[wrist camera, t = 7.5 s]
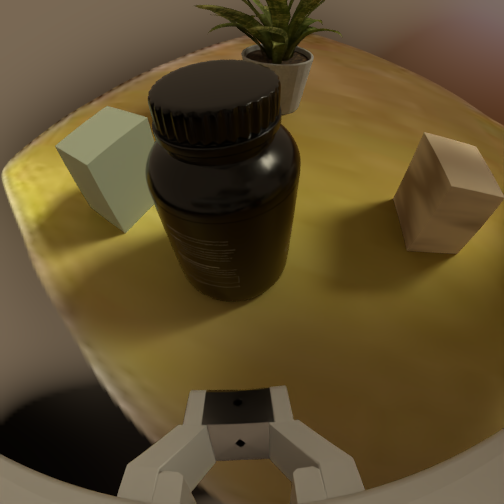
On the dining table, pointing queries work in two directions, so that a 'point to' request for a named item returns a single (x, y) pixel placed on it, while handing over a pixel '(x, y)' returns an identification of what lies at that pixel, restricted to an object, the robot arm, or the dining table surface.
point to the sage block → (111, 164)
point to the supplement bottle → (224, 175)
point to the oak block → (445, 196)
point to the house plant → (277, 42)
